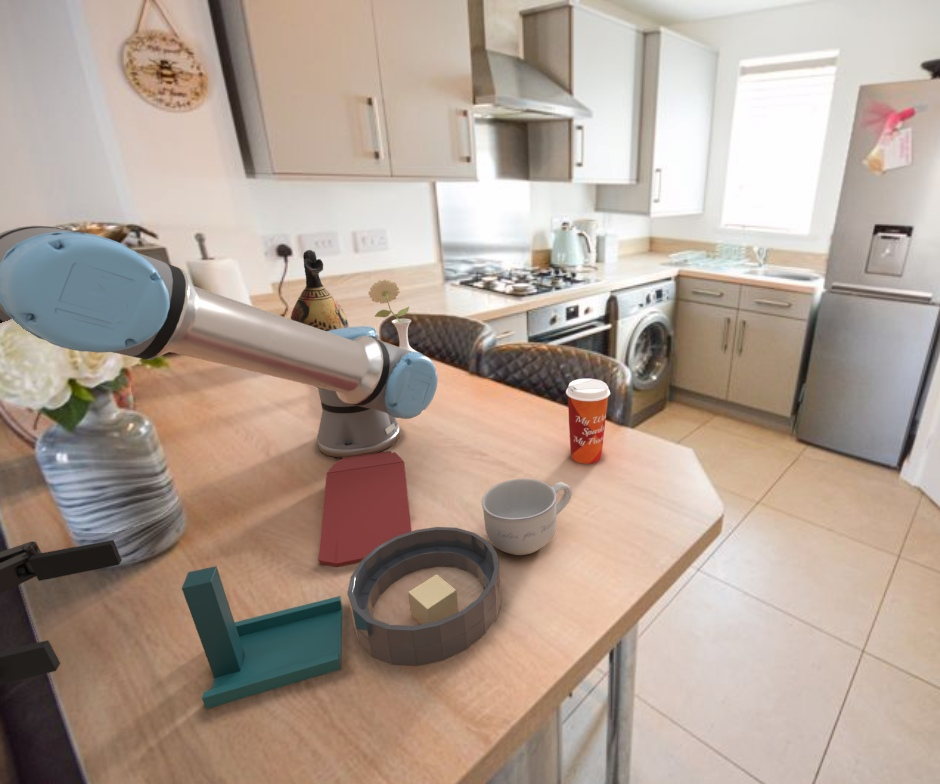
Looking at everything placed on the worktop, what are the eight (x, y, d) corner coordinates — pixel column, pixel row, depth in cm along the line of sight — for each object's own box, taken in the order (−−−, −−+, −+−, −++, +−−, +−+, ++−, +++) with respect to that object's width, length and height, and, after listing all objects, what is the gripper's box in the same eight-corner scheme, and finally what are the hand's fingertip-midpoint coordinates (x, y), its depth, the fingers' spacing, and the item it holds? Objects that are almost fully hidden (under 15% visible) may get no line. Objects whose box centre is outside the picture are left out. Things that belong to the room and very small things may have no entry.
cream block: (458, 615, 63) (430, 635, 60) (439, 598, 65) (411, 617, 62) (456, 589, 61) (427, 609, 58) (436, 573, 63) (407, 591, 61)
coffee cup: (576, 470, 95) (578, 396, 89) (558, 451, 102) (558, 381, 96) (615, 461, 99) (619, 389, 93) (595, 442, 106) (597, 374, 100)
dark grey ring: (328, 616, 62) (319, 578, 60) (444, 545, 75) (440, 511, 73) (411, 700, 53) (405, 658, 50) (528, 602, 65) (527, 565, 63)
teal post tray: (207, 714, 51) (169, 615, 46) (227, 639, 59) (197, 549, 54) (341, 674, 55) (320, 580, 50) (343, 609, 63) (325, 523, 58)
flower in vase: (428, 360, 150) (419, 274, 140) (428, 374, 140) (418, 282, 130) (380, 364, 146) (368, 275, 137) (377, 377, 136) (363, 283, 127)
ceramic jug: (357, 357, 151) (341, 253, 140) (299, 366, 143) (277, 256, 131) (345, 342, 164) (330, 246, 152) (291, 350, 156) (270, 248, 144)
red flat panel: (416, 571, 75) (405, 466, 95) (412, 547, 72) (402, 444, 92) (324, 591, 71) (333, 477, 91) (317, 567, 68) (328, 455, 88)
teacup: (494, 574, 70) (491, 526, 67) (477, 527, 79) (474, 483, 76) (587, 548, 75) (589, 503, 72) (561, 508, 84) (561, 466, 81)
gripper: (-110, 597, 52) (145, 547, 60) (-420, 883, 31) (34, 750, 39) (-149, 538, 50) (124, 493, 57) (-521, 810, 28) (-8, 681, 36)
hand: (88, 597), depth 48 cm, fingers open, 13 cm apart
